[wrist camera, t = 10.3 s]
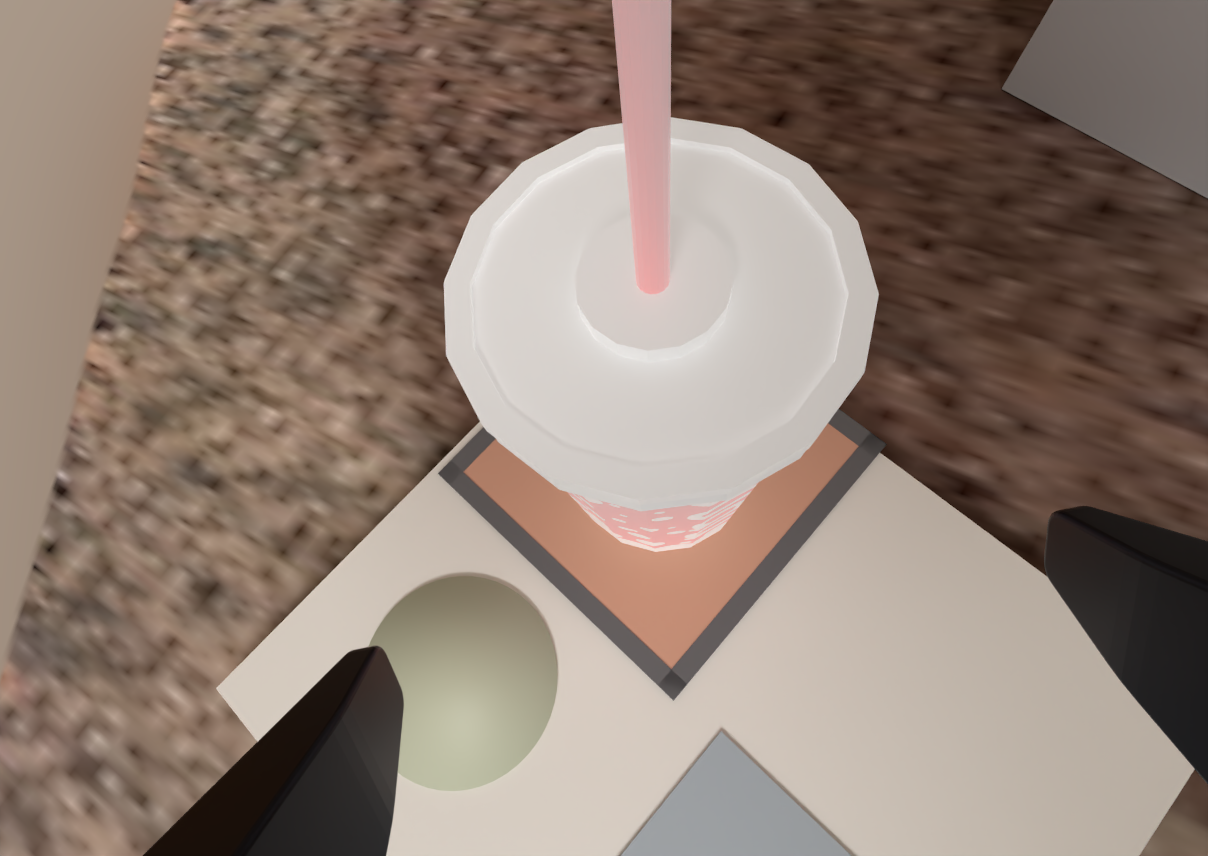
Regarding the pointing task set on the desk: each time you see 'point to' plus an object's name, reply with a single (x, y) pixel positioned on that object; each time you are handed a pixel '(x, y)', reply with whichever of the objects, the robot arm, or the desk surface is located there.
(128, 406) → the desk surface
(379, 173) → the desk surface
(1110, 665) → the robot arm
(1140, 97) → the tape holder
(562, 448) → the beverage cup
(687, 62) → the desk surface
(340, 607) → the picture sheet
